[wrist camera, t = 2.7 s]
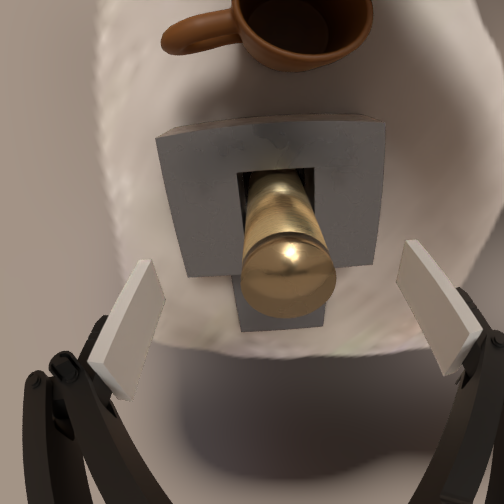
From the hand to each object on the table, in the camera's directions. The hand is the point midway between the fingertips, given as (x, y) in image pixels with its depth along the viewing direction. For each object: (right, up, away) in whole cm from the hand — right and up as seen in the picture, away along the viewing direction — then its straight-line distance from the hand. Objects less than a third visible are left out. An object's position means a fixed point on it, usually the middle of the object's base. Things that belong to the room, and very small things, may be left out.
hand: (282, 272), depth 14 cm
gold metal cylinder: (0, +7, +11) cm, 13 cm away
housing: (0, +7, +11) cm, 13 cm away
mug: (-1, +18, +4) cm, 19 cm away
